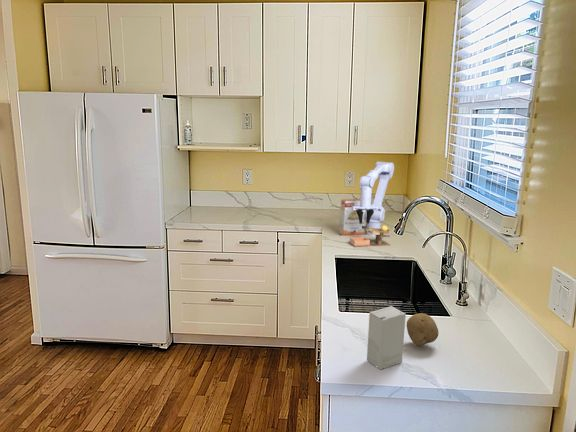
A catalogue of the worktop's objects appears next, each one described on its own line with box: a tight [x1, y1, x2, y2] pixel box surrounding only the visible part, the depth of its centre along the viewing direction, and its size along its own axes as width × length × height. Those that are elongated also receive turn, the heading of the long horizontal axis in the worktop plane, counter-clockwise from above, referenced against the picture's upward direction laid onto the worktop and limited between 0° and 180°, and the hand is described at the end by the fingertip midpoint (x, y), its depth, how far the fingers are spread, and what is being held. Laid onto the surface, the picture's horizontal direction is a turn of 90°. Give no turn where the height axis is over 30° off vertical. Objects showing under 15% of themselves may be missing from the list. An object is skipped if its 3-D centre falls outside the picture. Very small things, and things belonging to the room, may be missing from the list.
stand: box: [348, 232, 392, 248], centre depth 248 cm, size 9×21×8 cm, turn 103°
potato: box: [406, 312, 439, 348], centre depth 138 cm, size 9×9×10 cm
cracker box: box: [338, 198, 366, 236], centre depth 270 cm, size 14×6×21 cm, turn 109°
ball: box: [380, 225, 389, 231], centre depth 249 cm, size 4×4×4 cm
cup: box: [349, 236, 371, 247], centre depth 247 cm, size 7×8×3 cm
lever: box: [362, 225, 391, 238], centre depth 252 cm, size 13×11×4 cm
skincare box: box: [366, 305, 407, 370], centre depth 127 cm, size 8×6×15 cm
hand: (364, 223), depth 255 cm, fingers open, 3 cm apart
